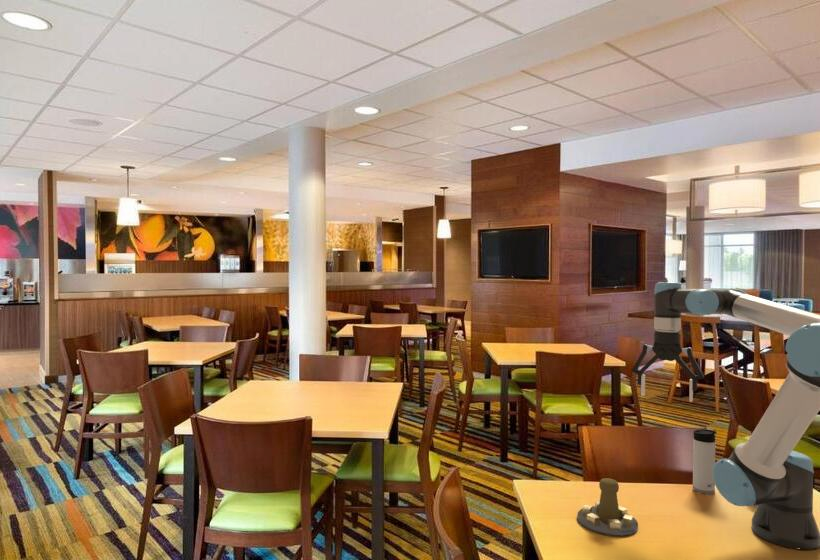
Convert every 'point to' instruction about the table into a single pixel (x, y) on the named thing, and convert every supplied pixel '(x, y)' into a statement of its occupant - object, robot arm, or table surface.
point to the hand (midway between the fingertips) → (666, 398)
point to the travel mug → (703, 461)
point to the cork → (608, 500)
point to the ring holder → (613, 527)
